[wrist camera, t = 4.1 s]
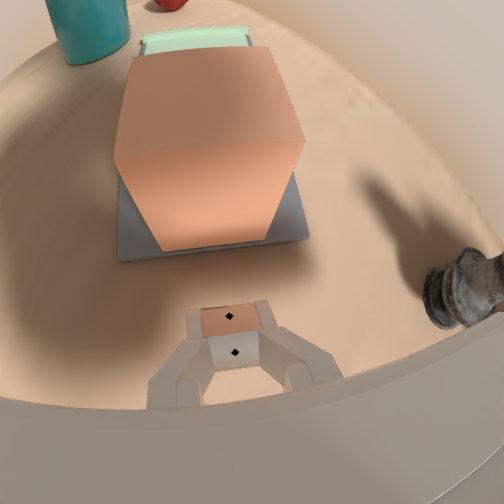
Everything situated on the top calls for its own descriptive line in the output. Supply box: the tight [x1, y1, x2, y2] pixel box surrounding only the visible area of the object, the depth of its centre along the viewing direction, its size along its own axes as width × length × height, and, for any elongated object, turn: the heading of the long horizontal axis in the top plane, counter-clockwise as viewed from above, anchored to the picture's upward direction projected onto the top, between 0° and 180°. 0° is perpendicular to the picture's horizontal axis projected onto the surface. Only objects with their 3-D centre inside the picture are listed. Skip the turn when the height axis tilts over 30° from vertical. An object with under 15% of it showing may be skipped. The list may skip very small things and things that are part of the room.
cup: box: [45, 0, 131, 65], centre depth 19 cm, size 9×12×11 cm
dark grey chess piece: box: [424, 247, 504, 330], centre depth 12 cm, size 6×6×12 cm
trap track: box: [117, 26, 310, 262], centre depth 20 cm, size 12×26×2 cm, turn 9°
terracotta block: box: [113, 46, 305, 252], centre depth 13 cm, size 6×6×9 cm
